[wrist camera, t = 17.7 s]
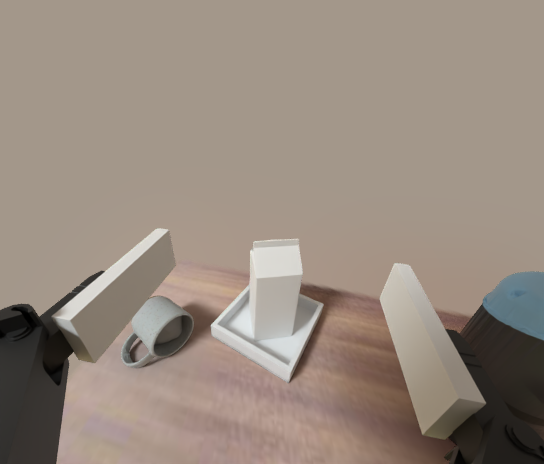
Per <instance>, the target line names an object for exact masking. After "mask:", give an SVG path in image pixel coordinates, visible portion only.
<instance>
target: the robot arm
mask: <svg viewBox="0 0 544 464" xmlns="http://www.w3.org/2000/svg"><path fill="white" fill-rule="evenodd" d="M175 266H176V263H175V258H174V253H173V248H172V243H171V237H170V233H169V230H167V229H159V228H157V229H156V230H155V231H153V232H152V233H151V234H150V235H149V236H147V237H146V238H145V239H144V240H143V241H141V242H140V243H139V244H138V245H137V246H135V247H134V248H133V249H132V250H131V251H129V252H128V253H127V254H126V255H124V256H123V257H122V258H121V259H120V260H119V261H117V262H116V263H115V264H114V265H113V266H111V267H110V268H109V269H108V270H107V271H100V272H98V273H96V274H94V275H92V276H90V277H89V278H87V279H86V280H85V281H84V282H82V283H81V284H80V286H78V287H76V288H75V289H74V290H72V292H71V293H69V294H67V295H66V296H65V297H64V298H62V299H61V300H60V301H59V302H57V303H56V304H55V305H54V306H52V307H51V308H50V309H49V310H47V311H46V312H45V313H44V314H42V315H41V316H40V317H39V316H38V315H37V313H36V312H35V310H34V309H33V307H32V306H30V305H29V304H18V305H12V306H10V307H7V308H4V309H2V310H0V464H56V461H57V453H58V445H59V438H60V430H61V422H62V415H63V407H64V399H65V392H66V384H67V376H68V368H69V361H68V359H67V358H68V357H69V356H70V355H71V354H72V353H73V352H74V353H75V354H76V356H77V358H78V359H79V360H82V361H86V362H91V363H96V362H97V360H98V359H99V358H100V357H101V356H102V354H103V353H104V352H105V351H106V350H107V348H108V347H109V346H110V345H111V343H112V342H113V341H114V340H115V339H116V337H117V336H118V335H119V334H120V333H121V331H122V330H123V329H124V328H125V326H126V325H127V324H128V323H129V322H130V320H131V319H132V318H133V317H134V316H135V314H136V313H137V312H138V311H139V310H140V308H141V307H142V306H143V305H144V303H145V302H146V301H147V300H148V299H149V297H150V296H151V295H152V294H153V293H154V291H155V290H156V289H157V288H158V286H159V285H160V284H161V283H162V282H163V280H164V279H165V278H166V277H167V276H168V274H169V273H170V272H171V271H172V270H173V268H174V267H175ZM380 302H381V305H382V308H383V311H384V314H385V318H386V321H387V324H388V327H389V330H390V334H391V337H392V340H393V343H394V346H395V350H396V353H397V356H398V359H399V362H400V365H401V369H402V372H403V375H404V378H405V381H406V385H407V388H408V391H409V394H410V397H411V400H412V404H413V407H414V410H415V413H416V416H417V420H418V423H419V426H420V429H421V432H422V435H425V436H429V437H434V438H438V439H443V440H445V439H446V438H448V437H449V438H450V439H451V440H452V441H453V442H454V443H456V444H457V446H456V447H455V448H454V449H452V450H451V451H450V452H448V453H447V454H446V456H445V457H444V458H445V459H446V460H447V461H448V460H449V459H450V458H451V459H450V462H449V464H544V272H520V273H515V274H512V275H510V276H507V277H506V278H504V279H503V280H502V281H501V282H500V283H499V284H498V285H497V286H496V288H495V289H494V290H493V291H492V292H491V293H489V294H487V295H486V296H485V297H484V299H483V304H482V305H481V306H480V308H479V309H478V310H477V312H476V313H475V314H474V316H473V317H472V318H471V320H470V321H469V322H468V323H467V325H466V326H465V327H464V328H463V330H462V331H461V332H460V333H458V332H457V331H454V330H448V329H445V328H444V326H443V324H442V323H441V321H440V319H439V317H438V315H437V314H436V312H435V310H434V308H433V306H432V305H431V303H430V301H429V299H428V298H427V296H426V294H425V292H424V290H423V288H422V287H421V285H420V283H419V281H418V279H417V278H416V276H415V274H414V272H413V271H412V268H411V267H410V265H406V264H399V263H395V264H394V266H393V269H392V271H391V273H390V275H389V278H388V280H387V282H386V285H385V287H384V290H383V292H382V294H381V296H380Z"/></svg>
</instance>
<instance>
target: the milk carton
mask: <svg viewBox="0 0 544 464" xmlns="http://www.w3.org/2000/svg"><path fill="white" fill-rule="evenodd" d="M302 275H303V272H302V265H301V258H300V251H299V239H288V240H268V241H254V245H253V248H252V249H251V250H250V299H249V311H250V318H251V325H252V331H253V338H254V341H258V340H265V339H272V338H279V337H286V336H291V335H292V332H293V327H294V321H295V315H296V309H297V304H298V298H299V292H300V287H301V281H302Z"/></svg>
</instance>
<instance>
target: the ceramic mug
mask: <svg viewBox="0 0 544 464" xmlns="http://www.w3.org/2000/svg"><path fill="white" fill-rule="evenodd" d="M131 324H132V327H133V330H134V332H133V333H132V334H131V335H130V336H129V337H128V339H127V340H126V341H125V343H124V345H123V347H122V351H121V358H122V361H123V363H124V364H125V365H126V366H128V367H132V368H139V367H142V366H144V365H146V364H147V363H148V362H150V361H151V360H152V359H153V358H154V357H157V358H165V357H168V356H170V355H172V354H174V353H175V352H176V351H178V350H179V349H180V348H181V347H182V346H183V345H184V344H185V343H186V342H187V340H188V339H189V337H190V335H191V333H192V331H193V327H194V320H193V317H192V316H191V315H190V314H189V313H188V312H186V311H185V310H184V309H182V308H181V307H179V306H178V305H177V304H175V303H174V302H173V301H171V300H170V299H168V298H166V297H163V296H153V297H151V298H149V299H148V300H147V301H146V302H145V303H144V305H143V306H142V307H141V308H140V310H139V311H138V312H137V313H136V314H135V316H134V317H133V318H132V319H131ZM138 337H139V338H140V339H141V340H142V342H143V343H144V345H145V346H146V347H147V349H148V350H149V353H148V355H146V356H145V357H144V358H142V359H141V360H139V361H138V362H135V363H133V361H132V360H131V358H130V353H129V350H130V348H131V346H132V344H133V342H134V341H135V340H136V339H137V338H138Z"/></svg>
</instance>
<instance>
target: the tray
mask: <svg viewBox="0 0 544 464" xmlns="http://www.w3.org/2000/svg"><path fill="white" fill-rule="evenodd" d="M249 299H250V284H249V285H248V286H247V287H246V288H245V289H244V290H243V292H242V293H241V294H240V295H239V296H238V297H237V298H236V299H235V300H234V301H233V302H232V303H231V304H230V305H229V306H228V307H227V308H226V310H225V311H224V312H223V313H222V314H221V315H220V316H219V317H218V318H217V319H216V320H215V321H214V322H213V323H212V324H211V333H212V336H213V337H215V338H216V339H218V340H219V341H221V342H223V343H224V344H226V345H227V346H229V347H231V348H232V349H234V350H236V351H237V352H239V353H240V354H242V355H244V356H245V357H247V358H248V359H250V360H252V361H253V362H255V363H257V364H258V365H260V366H261V367H263V368H265V369H266V370H268V371H270V372H271V373H273V374H274V375H276V376H278V377H279V378H281V379H282V380H284V381H286V382H287V383H289V381H290V379H291V377H292V375H293V373H294V371H295V369H296V366H297V364H298V362H299V360H300V358H301V356H302V354H303V352H304V349H305V347H306V345H307V343H308V341H309V339H310V337H311V335H312V332H313V330H314V328H315V326H316V324H317V322H318V320H319V318H320V315H321V313H322V309H323V305H324V304H322V303H320V302H318V301H316V300H313V299H311V298H309V297H307V296H304V295H302V294H300V293H299V298H298V304H297V309H296V315H295V321H294V327H293V332H292V335H291V336H286V337H279V338H272V339H265V340H258V341H254V338H253V331H252V325H251V318H250V311H249Z"/></svg>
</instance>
